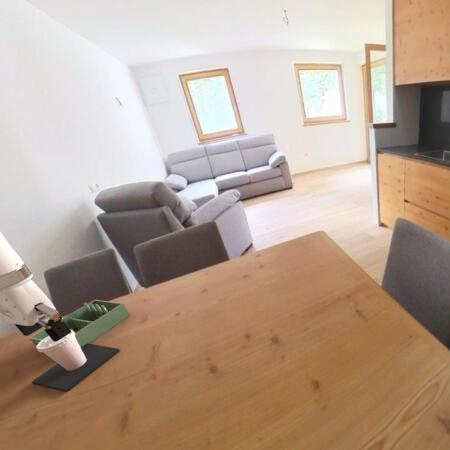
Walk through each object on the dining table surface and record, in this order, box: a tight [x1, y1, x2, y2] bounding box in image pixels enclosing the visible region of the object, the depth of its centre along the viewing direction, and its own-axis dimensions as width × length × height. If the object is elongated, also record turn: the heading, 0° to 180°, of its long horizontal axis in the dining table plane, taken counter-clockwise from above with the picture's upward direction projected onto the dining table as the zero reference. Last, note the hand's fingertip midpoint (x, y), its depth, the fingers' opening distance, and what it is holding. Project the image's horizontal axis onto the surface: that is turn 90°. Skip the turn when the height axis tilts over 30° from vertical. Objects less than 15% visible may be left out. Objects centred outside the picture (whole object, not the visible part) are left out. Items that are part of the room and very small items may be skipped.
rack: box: [28, 299, 131, 348], centre depth 84 cm, size 12×16×7 cm
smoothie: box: [35, 329, 87, 371], centre depth 71 cm, size 6×6×14 cm
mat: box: [31, 343, 121, 393], centre depth 74 cm, size 12×12×1 cm
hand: (48, 334), depth 69 cm, fingers open, 9 cm apart
